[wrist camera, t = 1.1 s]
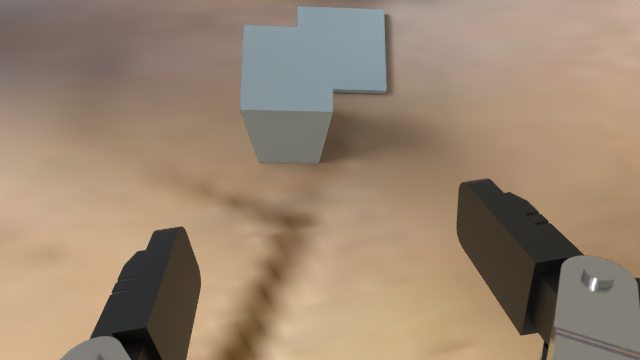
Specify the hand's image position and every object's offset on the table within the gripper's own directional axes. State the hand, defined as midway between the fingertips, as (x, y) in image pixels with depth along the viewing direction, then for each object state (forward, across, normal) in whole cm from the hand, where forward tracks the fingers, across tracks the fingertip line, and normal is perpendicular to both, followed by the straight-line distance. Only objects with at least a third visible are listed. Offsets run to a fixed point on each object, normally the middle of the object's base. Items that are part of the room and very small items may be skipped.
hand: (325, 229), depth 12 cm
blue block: (+19, +1, +5) cm, 20 cm away
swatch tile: (+23, -4, 0) cm, 24 cm away
